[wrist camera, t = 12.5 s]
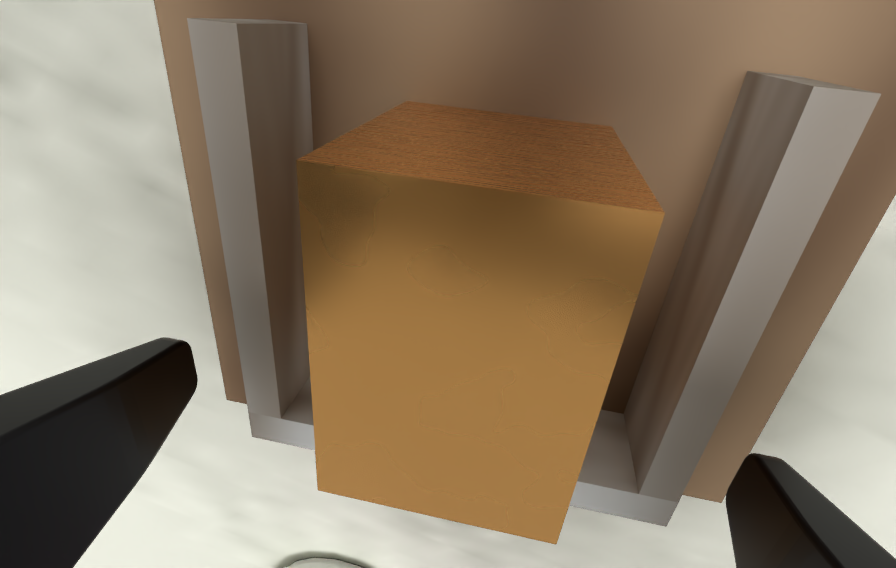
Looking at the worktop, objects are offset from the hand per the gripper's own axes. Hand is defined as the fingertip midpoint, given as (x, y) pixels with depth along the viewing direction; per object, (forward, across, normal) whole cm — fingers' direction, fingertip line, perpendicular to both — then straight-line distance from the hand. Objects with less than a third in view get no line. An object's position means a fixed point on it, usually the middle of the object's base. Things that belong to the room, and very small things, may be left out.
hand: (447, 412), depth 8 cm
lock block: (+6, 0, 0) cm, 7 cm away
